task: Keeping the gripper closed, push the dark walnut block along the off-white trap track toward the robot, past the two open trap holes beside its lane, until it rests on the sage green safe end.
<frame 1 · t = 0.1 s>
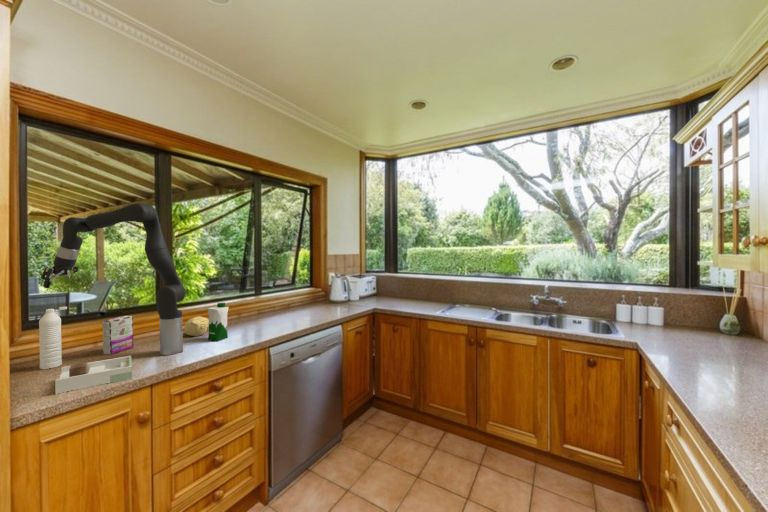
hand: (55, 286, 153), 31 cm above the countertop, tool tilted 20°, fingers open, 8 cm apart
sculpture: (196, 335, 183), on the countertop
water bottle: (54, 366, 134), on the countertop
candy bar box: (118, 351, 154), on the countertop
trap track: (97, 379, 122), on the countertop
walnut block: (78, 377, 117), point 3 cm above the countertop, touching trap track
milk carton: (217, 339, 176), on the countertop
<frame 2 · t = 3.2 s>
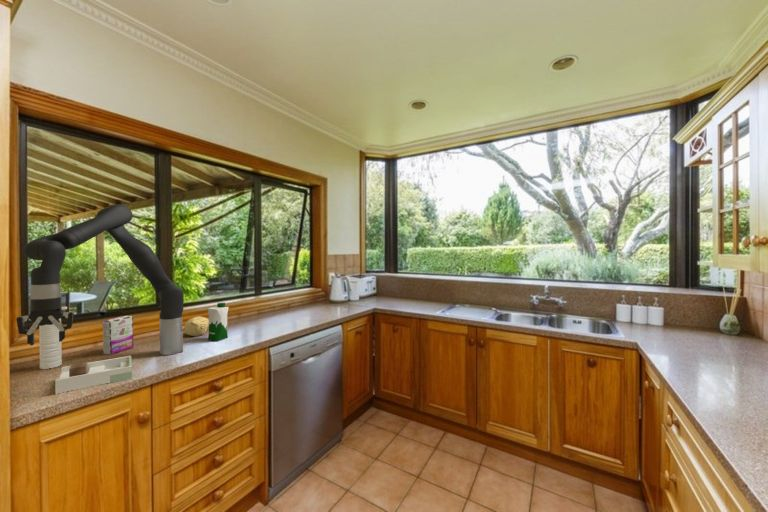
hand: (46, 342, 111), 18 cm above the countertop, tool pointing down, fingers open, 6 cm apart
nothing on the countertop moved.
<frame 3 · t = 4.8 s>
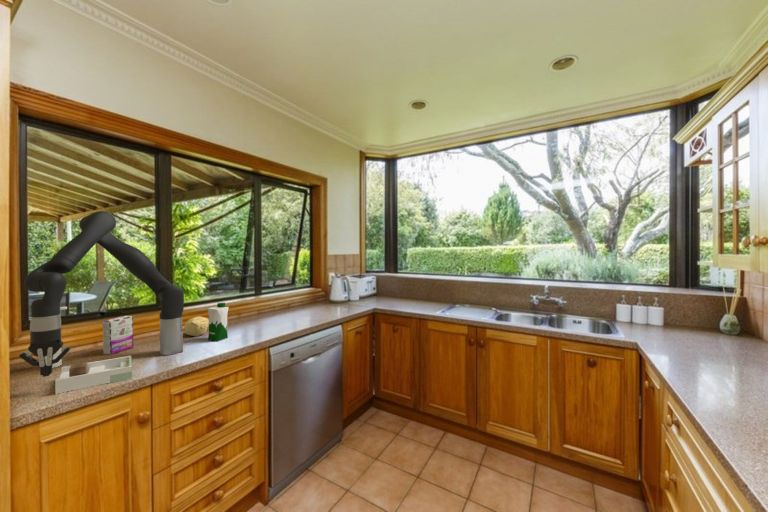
hand: (46, 375, 112), 6 cm above the countertop, tool pointing down, fingers closed
nothing on the countertop moved.
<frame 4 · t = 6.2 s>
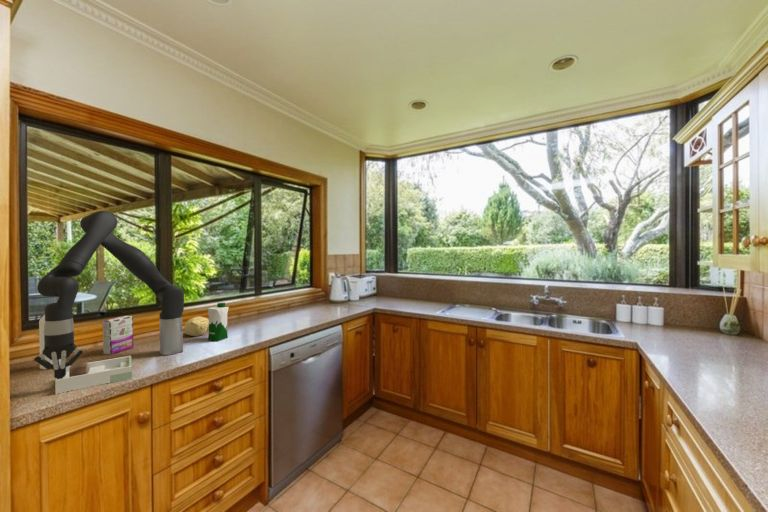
hand: (60, 378, 114), 4 cm above the countertop, tool pointing down, fingers closed
walnut block: (78, 377, 117), point 3 cm above the countertop, touching gripper, trap track
everything else where it was.
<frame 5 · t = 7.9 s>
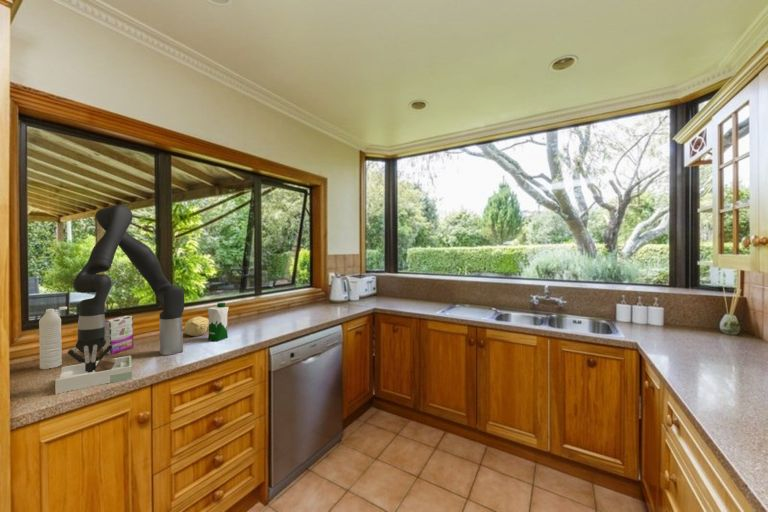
hand: (90, 371, 118), 5 cm above the countertop, tool pointing down, fingers closed
walnut block: (101, 370, 121), point 4 cm above the countertop, tilted 27°, touching gripper, hand
everything else where it was.
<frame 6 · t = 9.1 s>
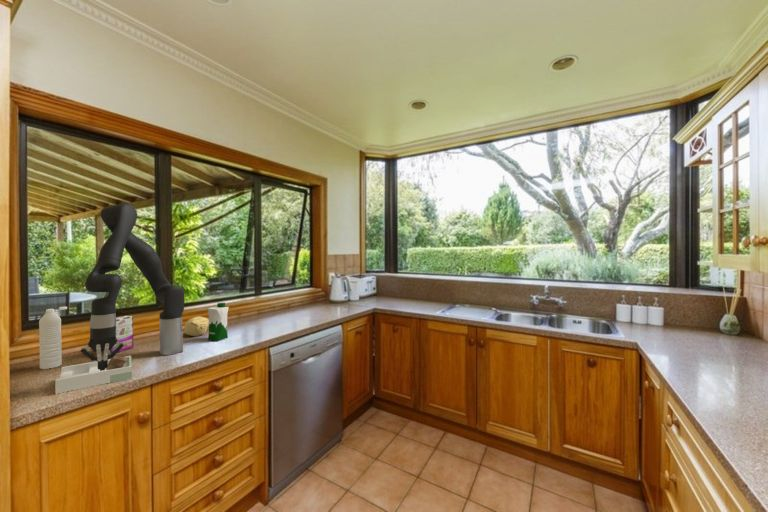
hand: (102, 369, 121), 4 cm above the countertop, tool pointing down, fingers closed
walnut block: (113, 368, 123), point 4 cm above the countertop, tilted 26°, touching gripper, hand, trap track
everything else where it was.
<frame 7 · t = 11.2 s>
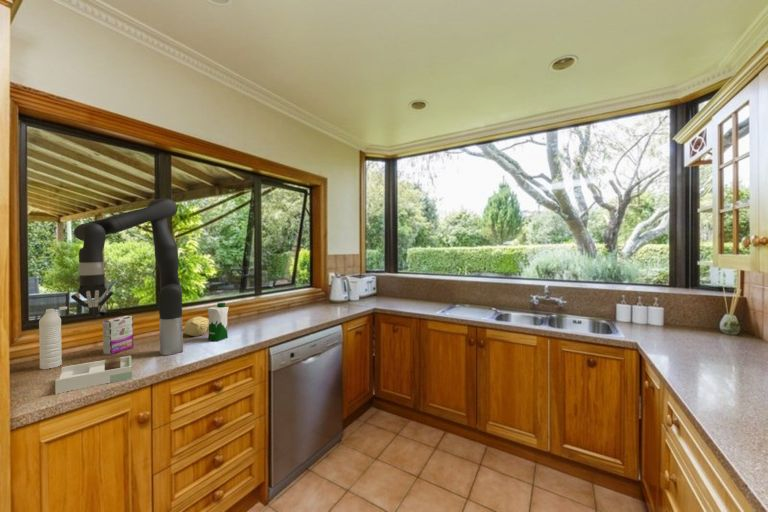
hand: (93, 316, 125), 24 cm above the countertop, tool pointing down, fingers closed
walnut block: (112, 371, 123), point 3 cm above the countertop, touching trap track
everything else where it was.
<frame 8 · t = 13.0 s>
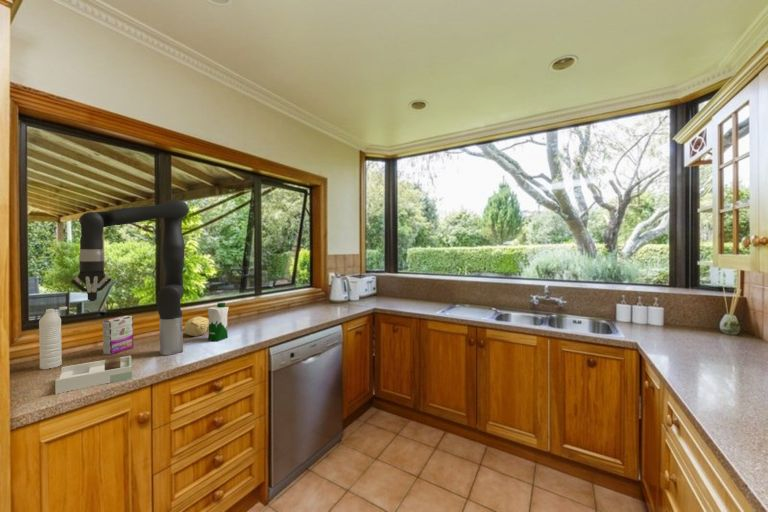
hand: (92, 301, 131), 29 cm above the countertop, tool pointing down, fingers closed
nothing on the countertop moved.
at the end: walnut block 2.1 cm from the target spot on the trap track, point 3.0 cm above the trap track's base; walnut block point 3.0 cm above the countertop; walnut block tilted 0° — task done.
